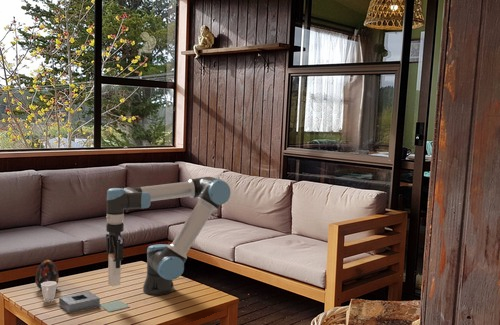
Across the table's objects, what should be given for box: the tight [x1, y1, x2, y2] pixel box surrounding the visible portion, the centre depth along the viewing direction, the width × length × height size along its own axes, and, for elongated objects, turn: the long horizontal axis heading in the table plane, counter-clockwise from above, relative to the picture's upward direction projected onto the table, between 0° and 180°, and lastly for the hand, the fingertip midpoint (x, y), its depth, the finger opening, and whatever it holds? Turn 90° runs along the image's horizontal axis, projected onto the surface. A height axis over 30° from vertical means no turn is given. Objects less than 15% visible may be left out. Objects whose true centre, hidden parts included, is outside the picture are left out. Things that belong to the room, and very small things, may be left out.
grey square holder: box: [58, 290, 101, 314], centre depth 234 cm, size 14×12×4 cm
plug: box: [107, 253, 122, 287], centre depth 234 cm, size 4×4×14 cm
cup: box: [41, 281, 58, 303], centre depth 239 cm, size 7×10×8 cm
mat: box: [100, 299, 130, 313], centre depth 236 cm, size 10×10×1 cm
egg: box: [34, 259, 60, 292], centre depth 254 cm, size 11×11×15 cm
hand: (114, 273), depth 234 cm, fingers closed on plug, 4 cm apart
